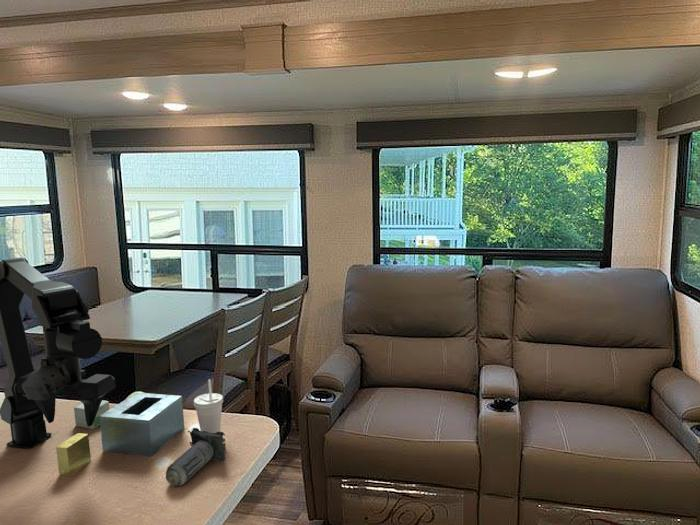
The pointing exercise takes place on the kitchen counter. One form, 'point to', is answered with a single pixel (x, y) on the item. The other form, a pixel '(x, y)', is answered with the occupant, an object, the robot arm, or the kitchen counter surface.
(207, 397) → the smoothie
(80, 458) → the block
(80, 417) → the small box
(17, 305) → the robot arm
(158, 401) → the box
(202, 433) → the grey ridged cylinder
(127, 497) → the kitchen counter surface
